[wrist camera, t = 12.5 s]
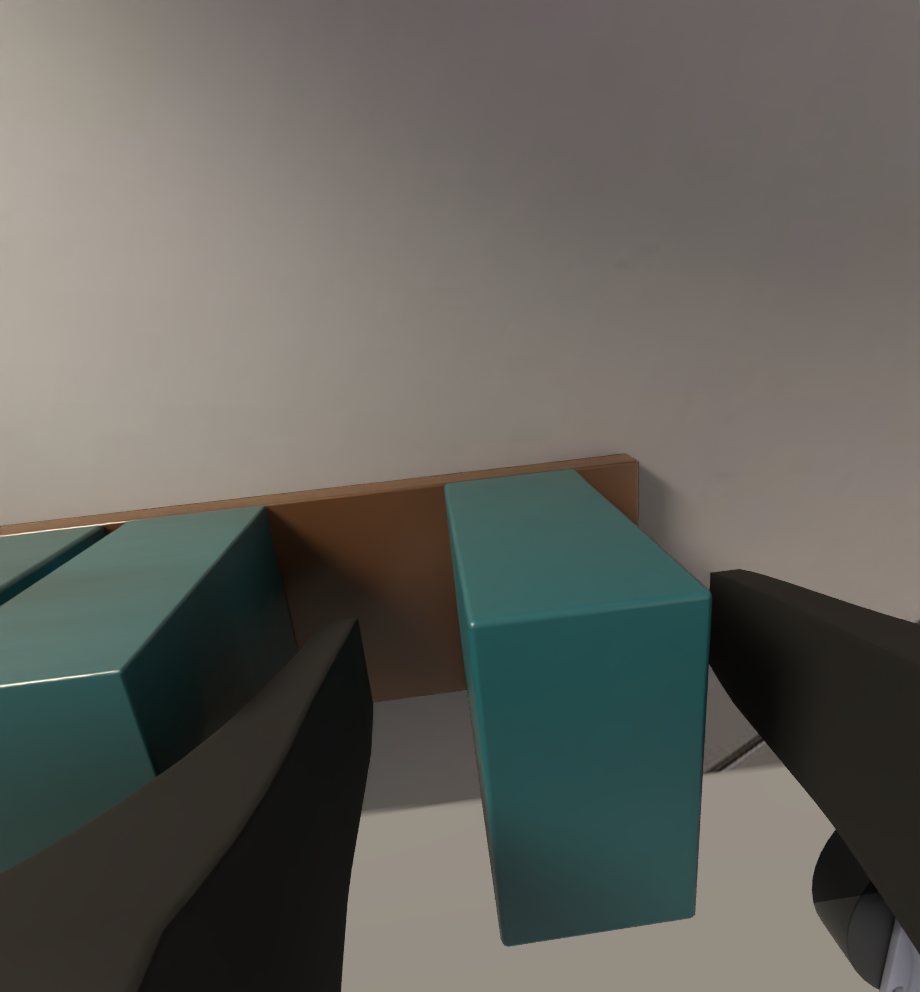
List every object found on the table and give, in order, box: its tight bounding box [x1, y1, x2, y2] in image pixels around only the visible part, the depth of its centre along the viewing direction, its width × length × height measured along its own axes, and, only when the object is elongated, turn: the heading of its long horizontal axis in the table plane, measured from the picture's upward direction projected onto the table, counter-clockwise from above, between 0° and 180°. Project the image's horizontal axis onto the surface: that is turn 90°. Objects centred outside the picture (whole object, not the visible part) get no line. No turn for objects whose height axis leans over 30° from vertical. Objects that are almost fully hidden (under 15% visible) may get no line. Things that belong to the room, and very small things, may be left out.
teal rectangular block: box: [444, 469, 712, 946], centre depth 10 cm, size 3×6×6 cm, turn 6°
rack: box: [0, 454, 639, 873], centre depth 10 cm, size 6×18×7 cm, turn 96°
